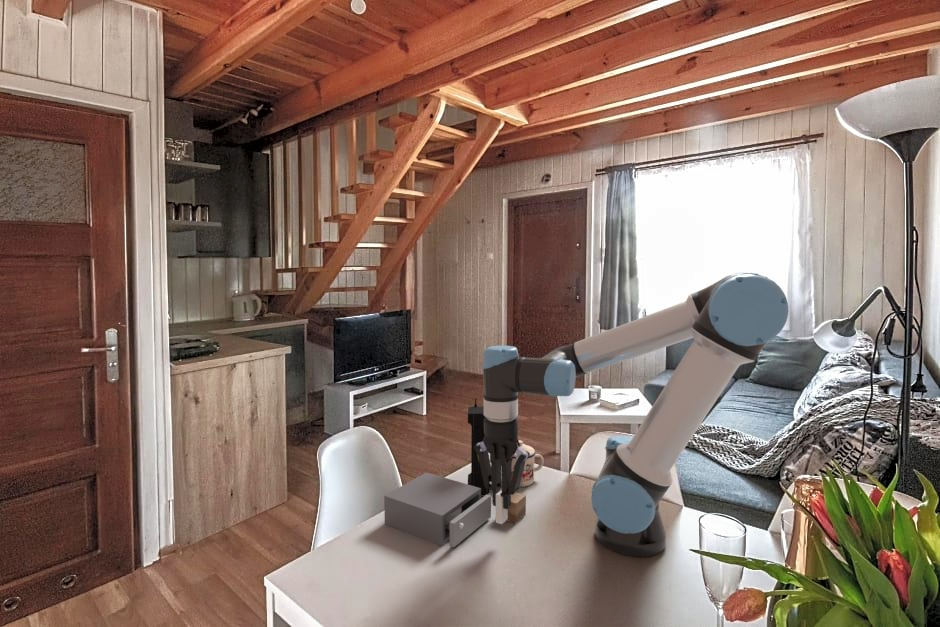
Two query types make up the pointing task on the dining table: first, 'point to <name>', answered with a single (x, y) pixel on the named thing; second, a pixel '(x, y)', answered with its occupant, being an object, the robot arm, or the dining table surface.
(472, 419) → the portable radio
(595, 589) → the dining table surface
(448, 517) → the white domed disc
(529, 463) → the teacup with lid
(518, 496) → the brown block
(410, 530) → the gray drawer box
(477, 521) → the pull-out drawer
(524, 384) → the robot arm
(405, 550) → the dining table surface
